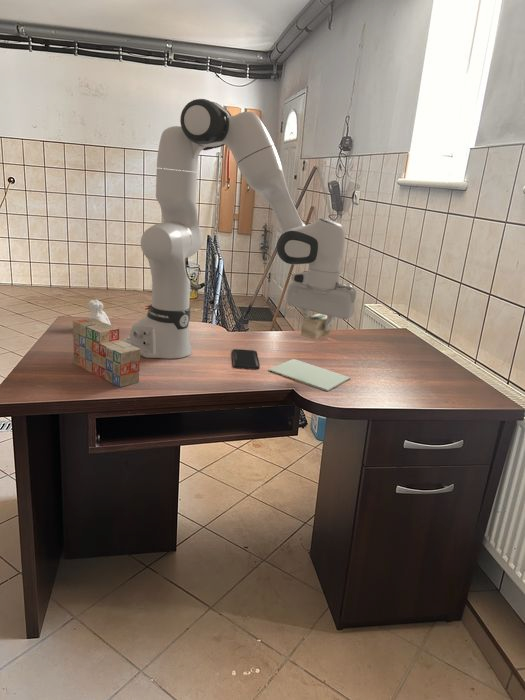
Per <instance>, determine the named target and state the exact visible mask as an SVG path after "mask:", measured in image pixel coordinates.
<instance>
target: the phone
mask: <svg viewBox="0 0 525 700" xmlns="http://www.w3.org/2000/svg"><path fill="white" fill-rule="evenodd" d="M231 357H232V362H233V363H232V364H233V366H234V367H233V368H235V369H242V368H245V369H246V368H247V369H246V370H260V369H259V368H261V367H260V365H261V364H260V360H259V356H258V352H257V351H256V350H254V349H252V350H251V349H238V348H236V349H235V348H234V349H232V352H231Z"/></svg>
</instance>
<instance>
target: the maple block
mask: <svg viewBox="0 0 525 700" xmlns="http://www.w3.org/2000/svg"><path fill="white" fill-rule="evenodd" d="M328 320H329V319H327V315H324V314H320V313H315V314H313V315H309V317H306V318H304V317H303V318H302V322H301V323H302V324H301V329H300V330H301V331H300V336H301V337H305V338H308V339H313V340H316V339H320V338H322V337H325V336H327V335H330V333H331V326H332V323H331V324H330V328H329V330H328V331H326V330H322V327H323V326H322V325H323V324H324V323H327V321H328Z"/></svg>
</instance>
